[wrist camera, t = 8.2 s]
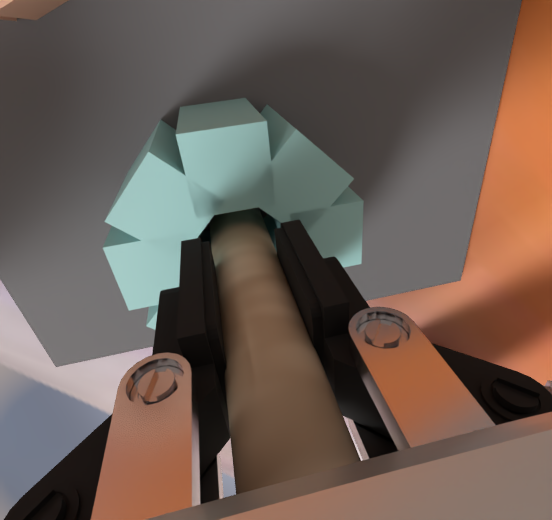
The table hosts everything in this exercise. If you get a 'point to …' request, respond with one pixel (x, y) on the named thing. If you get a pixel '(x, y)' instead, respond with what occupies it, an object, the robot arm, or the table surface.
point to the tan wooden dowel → (271, 364)
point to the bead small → (27, 8)
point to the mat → (259, 92)
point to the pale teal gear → (223, 193)
